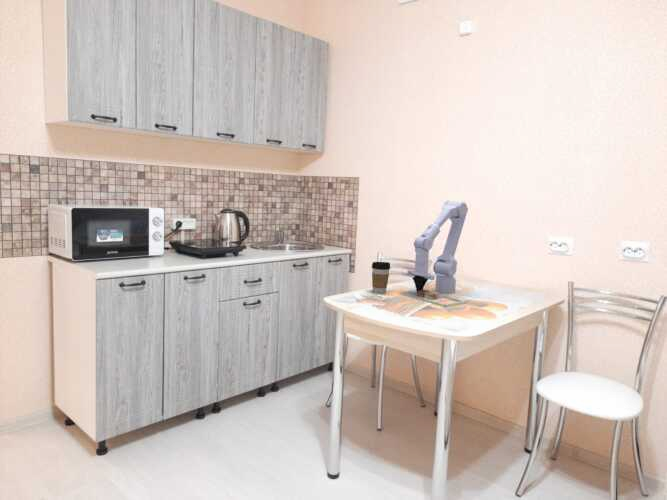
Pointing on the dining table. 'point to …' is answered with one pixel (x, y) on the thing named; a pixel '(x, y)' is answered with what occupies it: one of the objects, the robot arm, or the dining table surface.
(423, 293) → the walnut tile
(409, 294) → the slate board
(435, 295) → the oak tile
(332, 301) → the dining table surface
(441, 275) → the robot arm
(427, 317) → the dining table surface
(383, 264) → the coffee cup
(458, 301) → the tray
